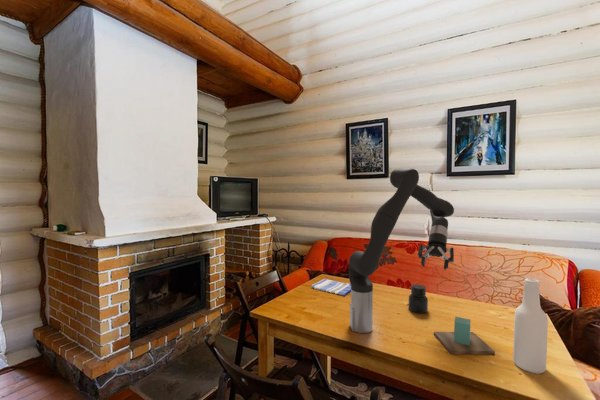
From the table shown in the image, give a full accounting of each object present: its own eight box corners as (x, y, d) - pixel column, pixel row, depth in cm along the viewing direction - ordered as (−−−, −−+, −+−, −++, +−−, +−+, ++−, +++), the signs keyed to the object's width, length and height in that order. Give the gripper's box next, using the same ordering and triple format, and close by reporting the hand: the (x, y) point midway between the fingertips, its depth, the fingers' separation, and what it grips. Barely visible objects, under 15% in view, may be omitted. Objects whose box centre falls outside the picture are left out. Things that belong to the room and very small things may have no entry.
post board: (450, 354, 105) (451, 334, 105) (433, 334, 119) (434, 317, 119) (494, 354, 105) (495, 335, 105) (472, 334, 119) (472, 317, 119)
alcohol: (550, 377, 92) (554, 285, 91) (517, 370, 95) (520, 282, 94) (539, 361, 100) (542, 277, 99) (509, 356, 104) (512, 274, 102)
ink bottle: (425, 306, 147) (425, 283, 146) (431, 314, 138) (431, 289, 138) (405, 306, 148) (405, 283, 147) (410, 313, 139) (410, 289, 139)
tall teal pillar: (454, 341, 111) (454, 321, 111) (455, 335, 116) (455, 316, 115) (469, 345, 108) (470, 325, 108) (470, 339, 113) (470, 319, 113)
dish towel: (325, 281, 189) (325, 277, 188) (357, 289, 174) (358, 284, 174) (309, 289, 175) (309, 284, 175) (344, 297, 161) (344, 292, 160)
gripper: (420, 231, 135) (415, 260, 125) (455, 233, 127) (452, 265, 118) (422, 240, 139) (417, 269, 130) (455, 243, 131) (453, 274, 122)
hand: (434, 267), depth 124 cm, fingers open, 8 cm apart
